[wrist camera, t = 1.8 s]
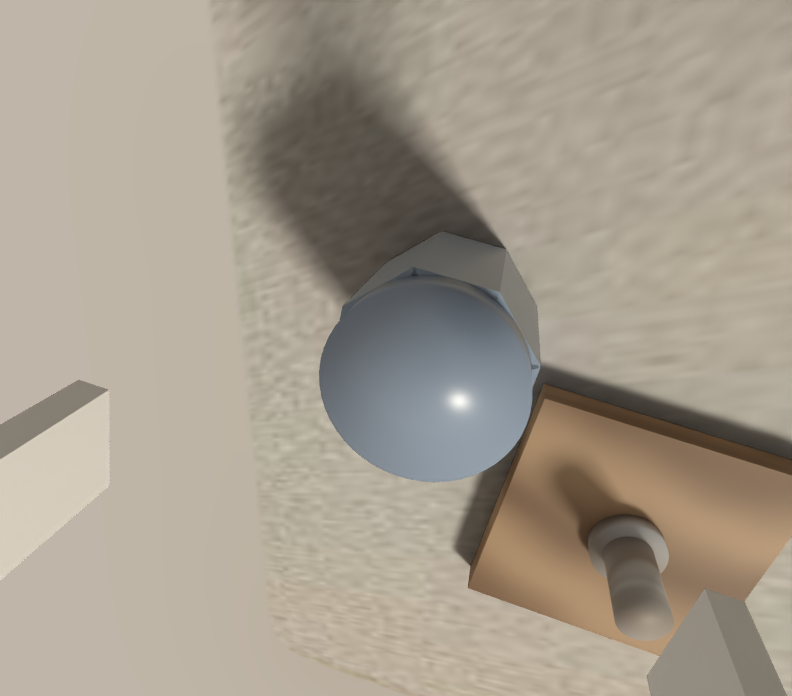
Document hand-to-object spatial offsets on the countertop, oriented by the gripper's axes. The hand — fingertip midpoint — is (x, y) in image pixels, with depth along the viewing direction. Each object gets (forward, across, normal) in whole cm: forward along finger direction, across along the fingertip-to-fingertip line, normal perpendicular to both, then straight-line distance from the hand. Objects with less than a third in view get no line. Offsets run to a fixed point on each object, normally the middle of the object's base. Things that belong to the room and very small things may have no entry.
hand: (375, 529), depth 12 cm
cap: (+14, 0, 0) cm, 15 cm away
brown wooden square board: (+14, +11, -8) cm, 20 cm away
